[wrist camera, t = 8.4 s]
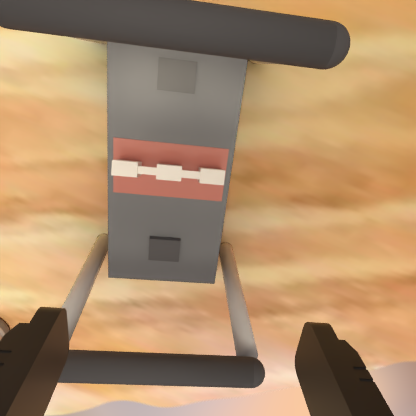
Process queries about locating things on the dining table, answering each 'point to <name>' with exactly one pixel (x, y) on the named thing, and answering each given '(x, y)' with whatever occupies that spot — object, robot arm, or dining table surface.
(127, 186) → the pdu
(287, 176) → the dining table surface
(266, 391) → the dining table surface
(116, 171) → the breaker paddles
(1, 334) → the travel mug
